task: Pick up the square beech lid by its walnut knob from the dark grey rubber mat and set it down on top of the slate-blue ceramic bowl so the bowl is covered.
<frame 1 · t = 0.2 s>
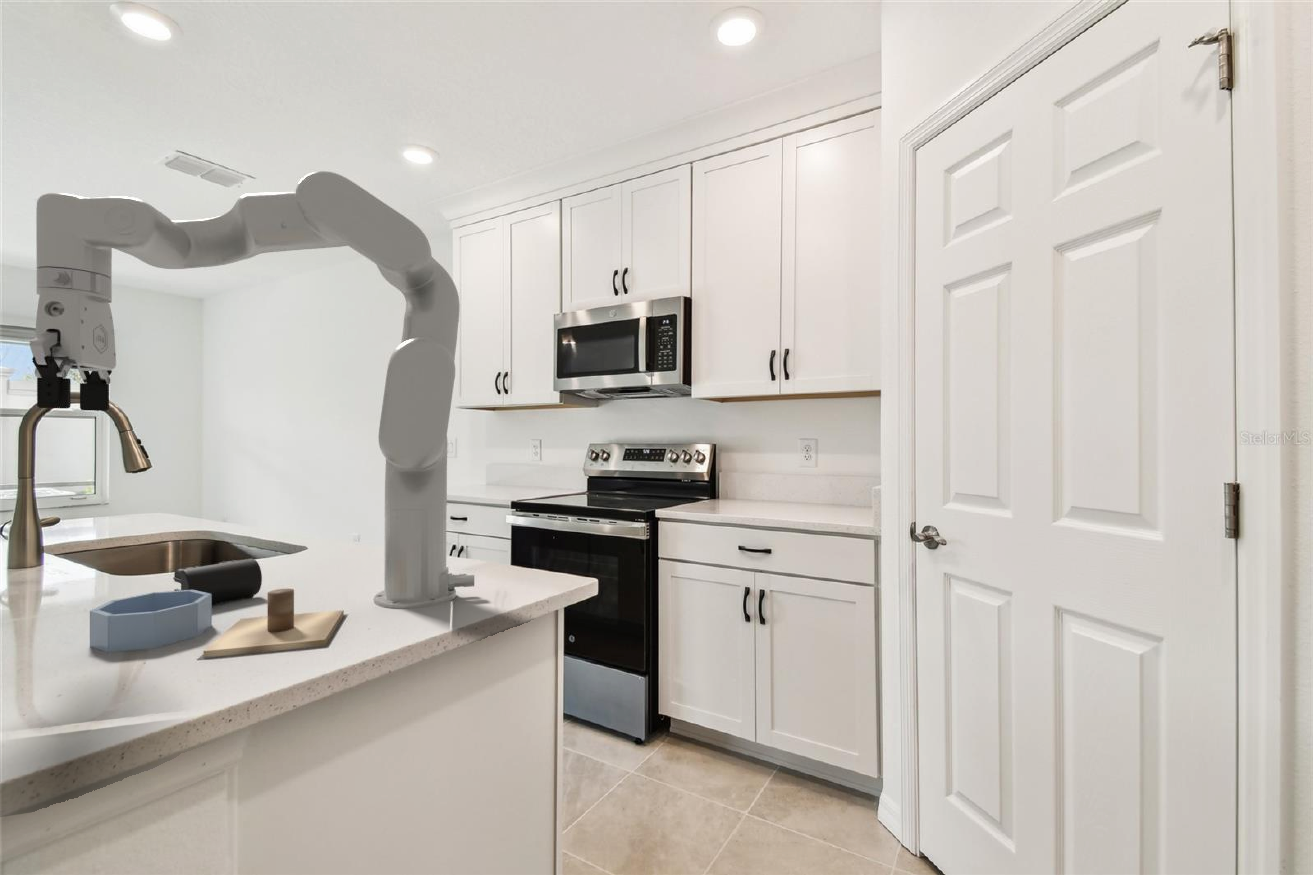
hand: (75, 409, 83), 31 cm above the counter, tool pointing down, fingers open, 9 cm apart
bowl: (153, 639, 79), on the counter
end cap: (217, 606, 95), on the counter
lid: (280, 634, 79), point 1 cm above the counter, touching mat
mat: (280, 638, 79), on the counter
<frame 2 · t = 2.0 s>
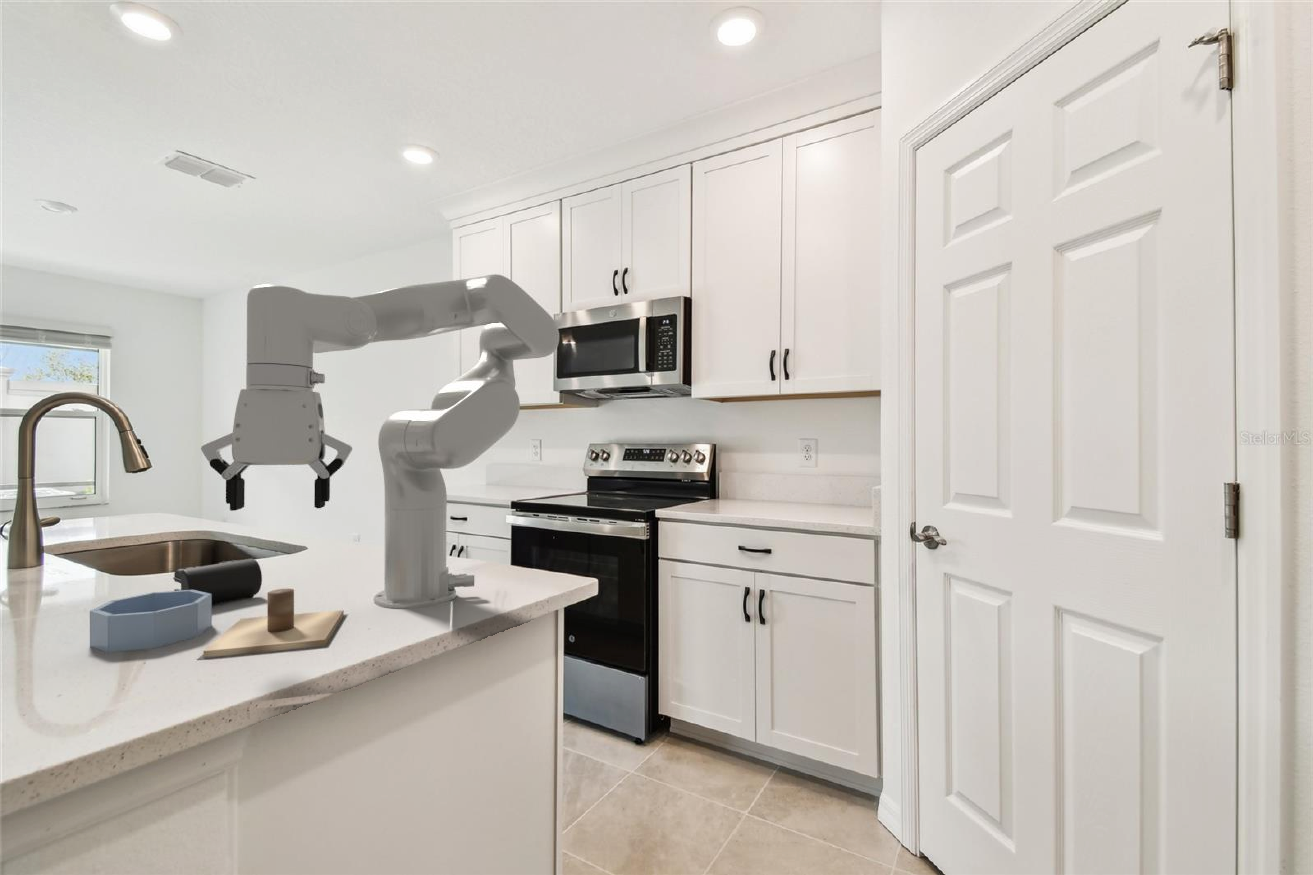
hand: (279, 508, 79), 18 cm above the counter, tool pointing down, fingers open, 9 cm apart
nothing on the counter moved.
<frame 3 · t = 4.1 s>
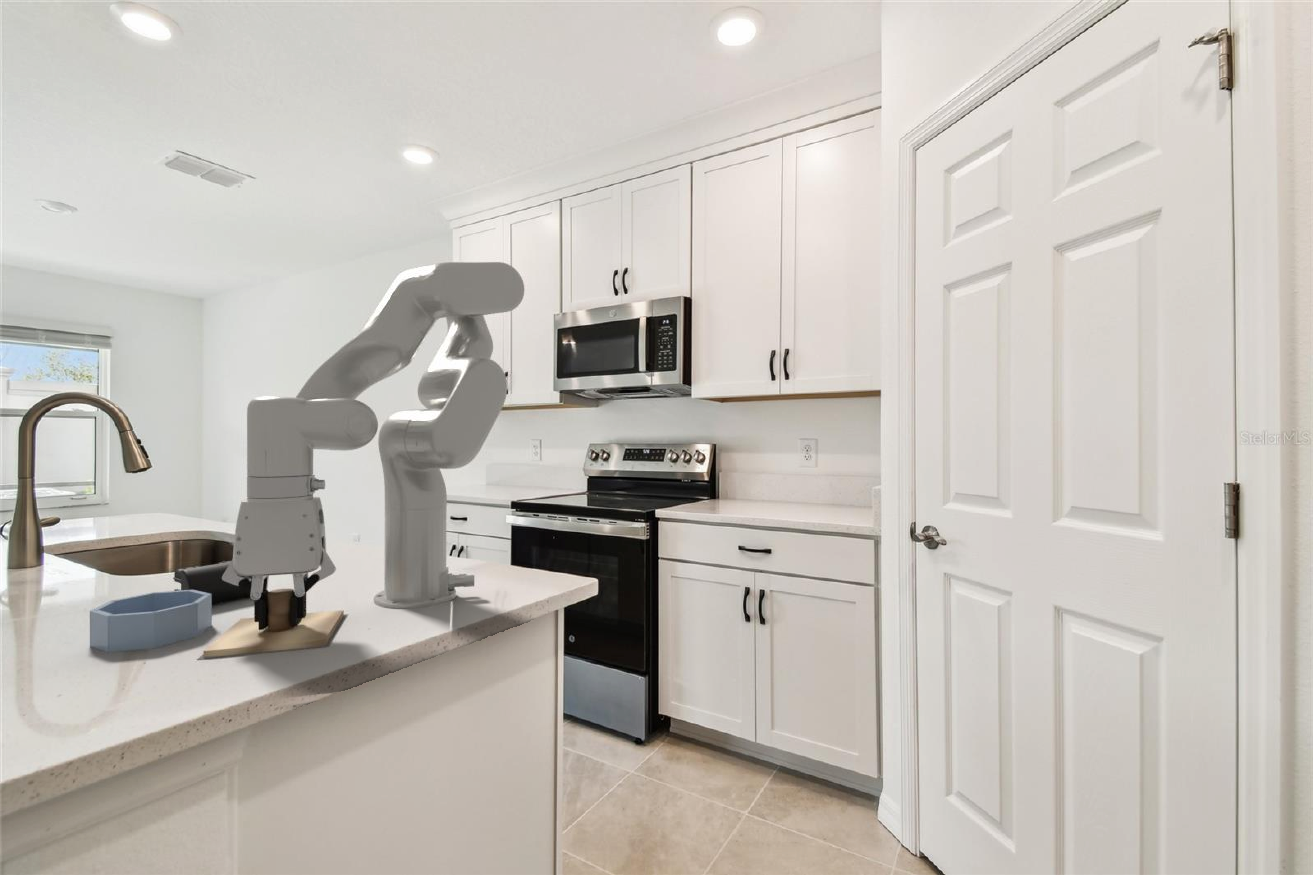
hand: (280, 624, 79), 2 cm above the counter, tool pointing down, fingers closed on lid, 3 cm apart
lid: (280, 634, 79), point 1 cm above the counter, touching gripper, mat
everything else where it was.
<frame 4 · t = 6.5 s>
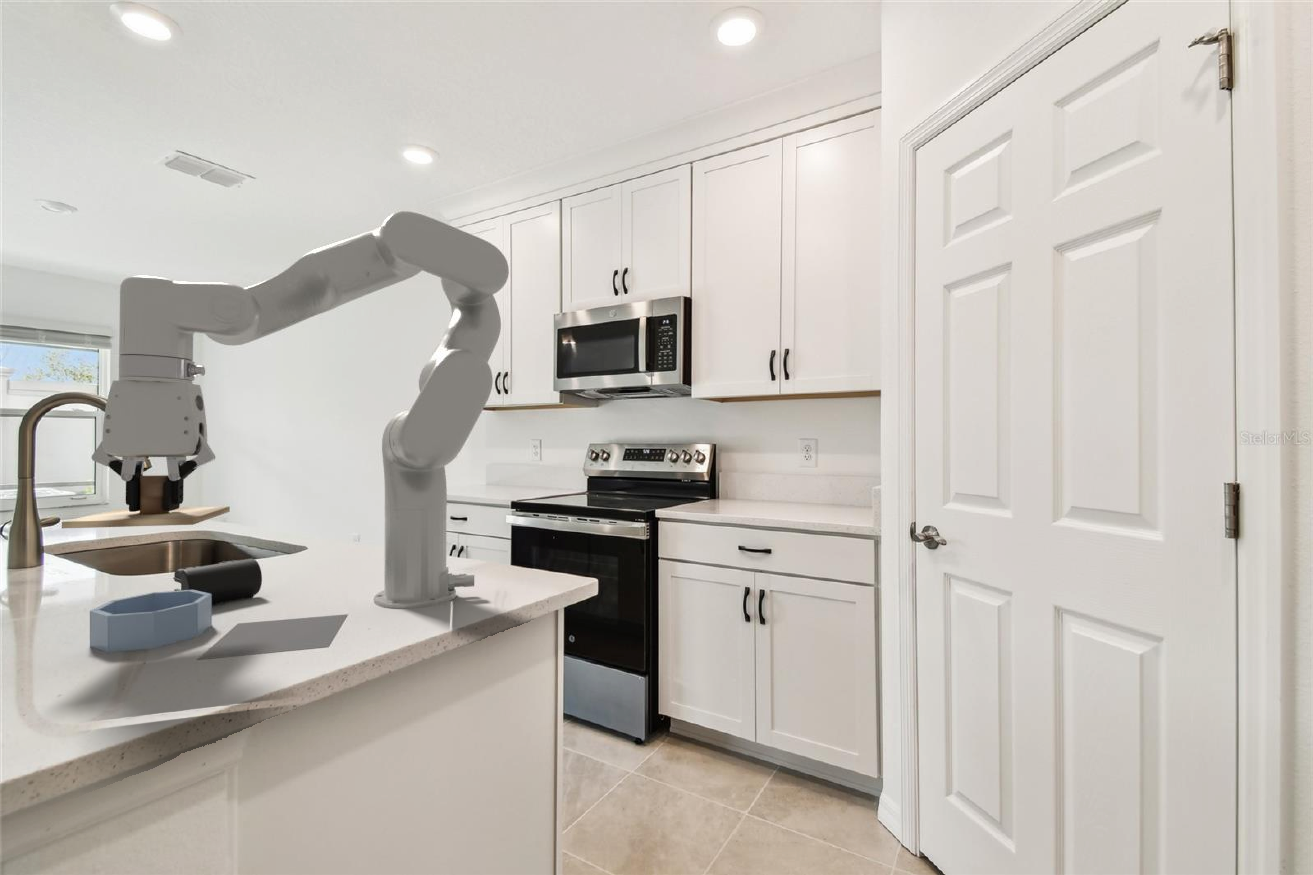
hand: (154, 508, 78), 18 cm above the counter, tool pointing down, fingers closed on lid, 3 cm apart
lid: (154, 519, 78), point 16 cm above the counter, touching gripper
everything else where it was.
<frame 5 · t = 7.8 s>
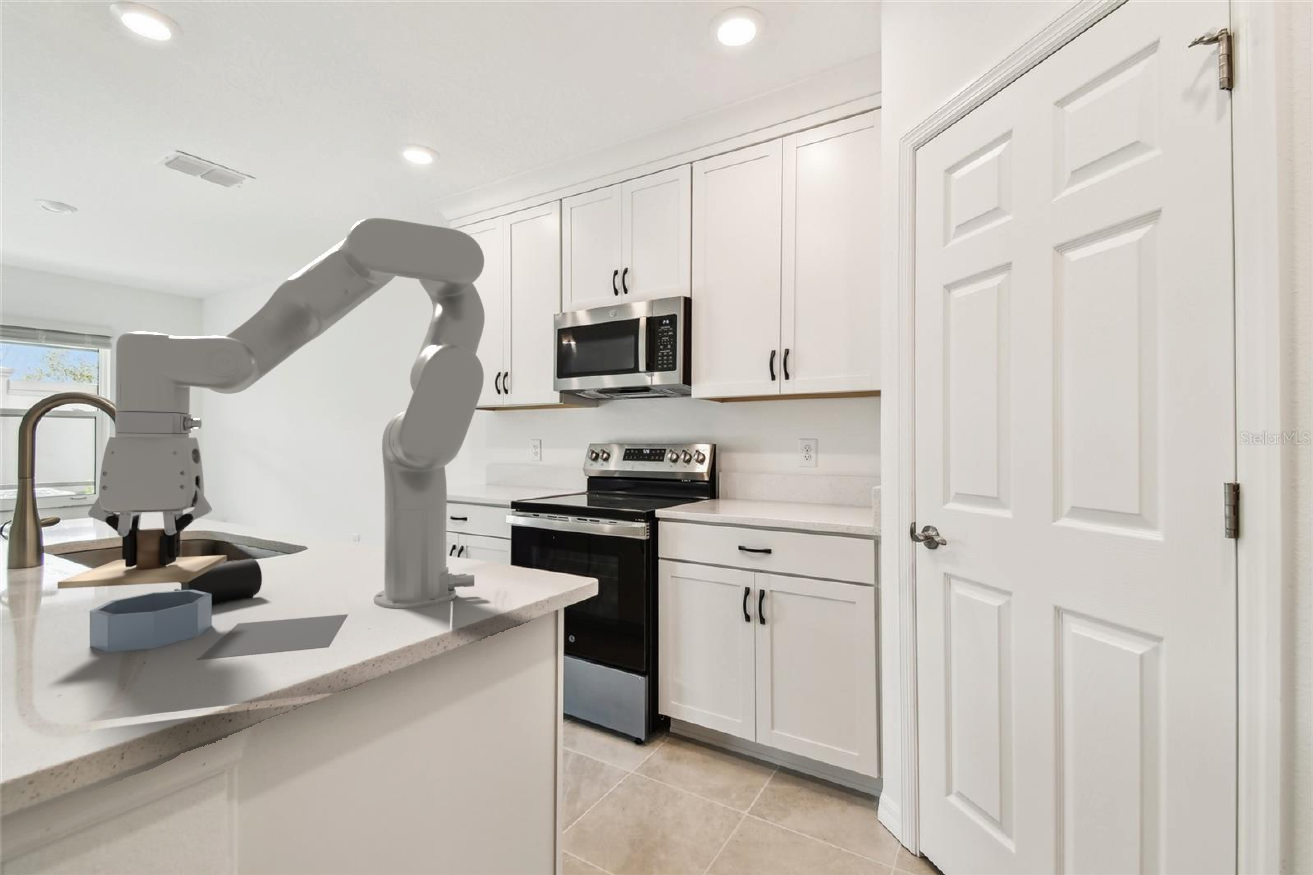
hand: (151, 562, 78), 10 cm above the counter, tool pointing down, fingers closed on lid, 3 cm apart
lid: (151, 573, 78), point 9 cm above the counter, touching gripper
everything else where it was.
when the fingers open (8 cm above the counter, at t = 8.9 s): lid drops 1 cm, resting on bowl.
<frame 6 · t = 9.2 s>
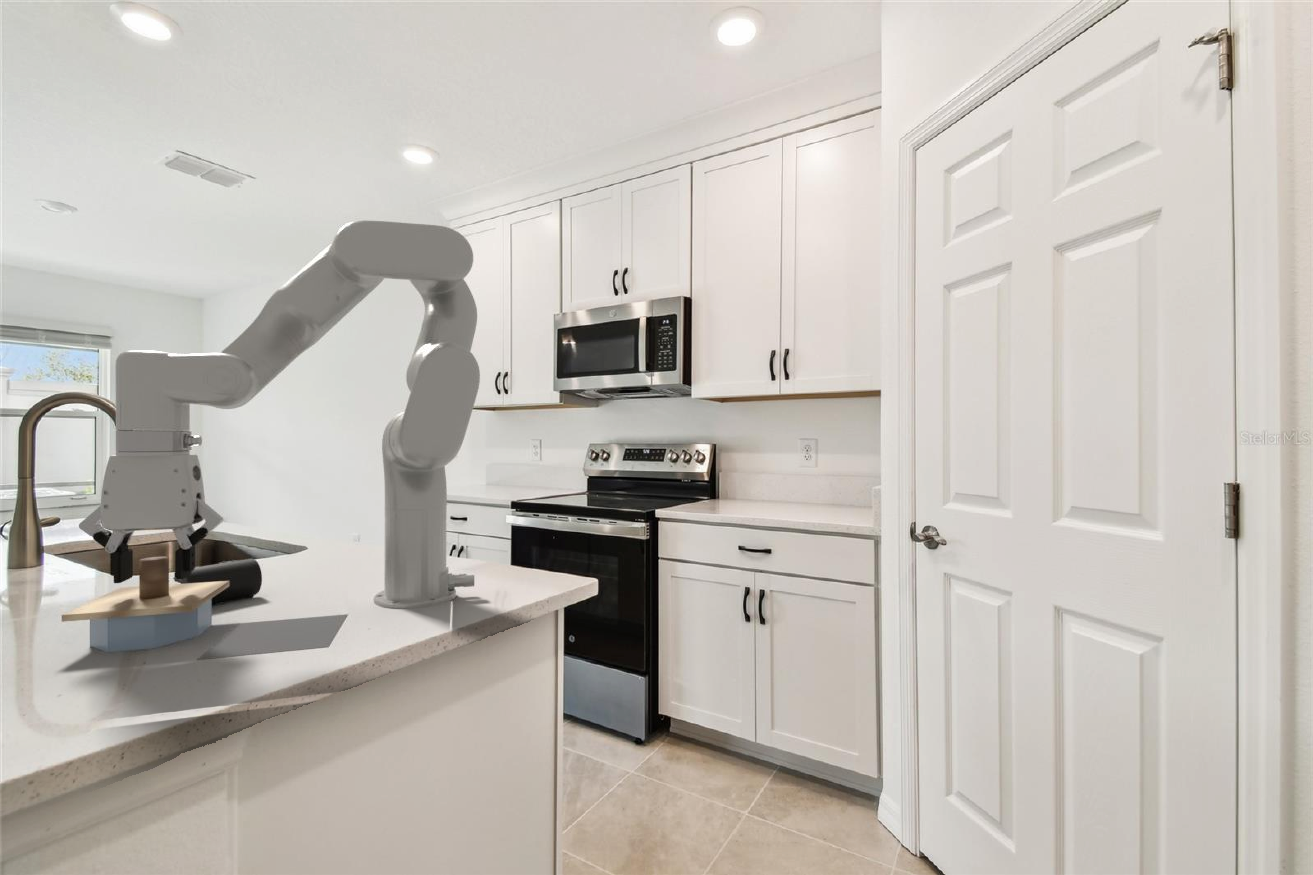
hand: (153, 577, 79), 8 cm above the counter, tool pointing down, fingers open, 6 cm apart
lid: (154, 602, 79), point 5 cm above the counter, touching bowl
everything else where it was.
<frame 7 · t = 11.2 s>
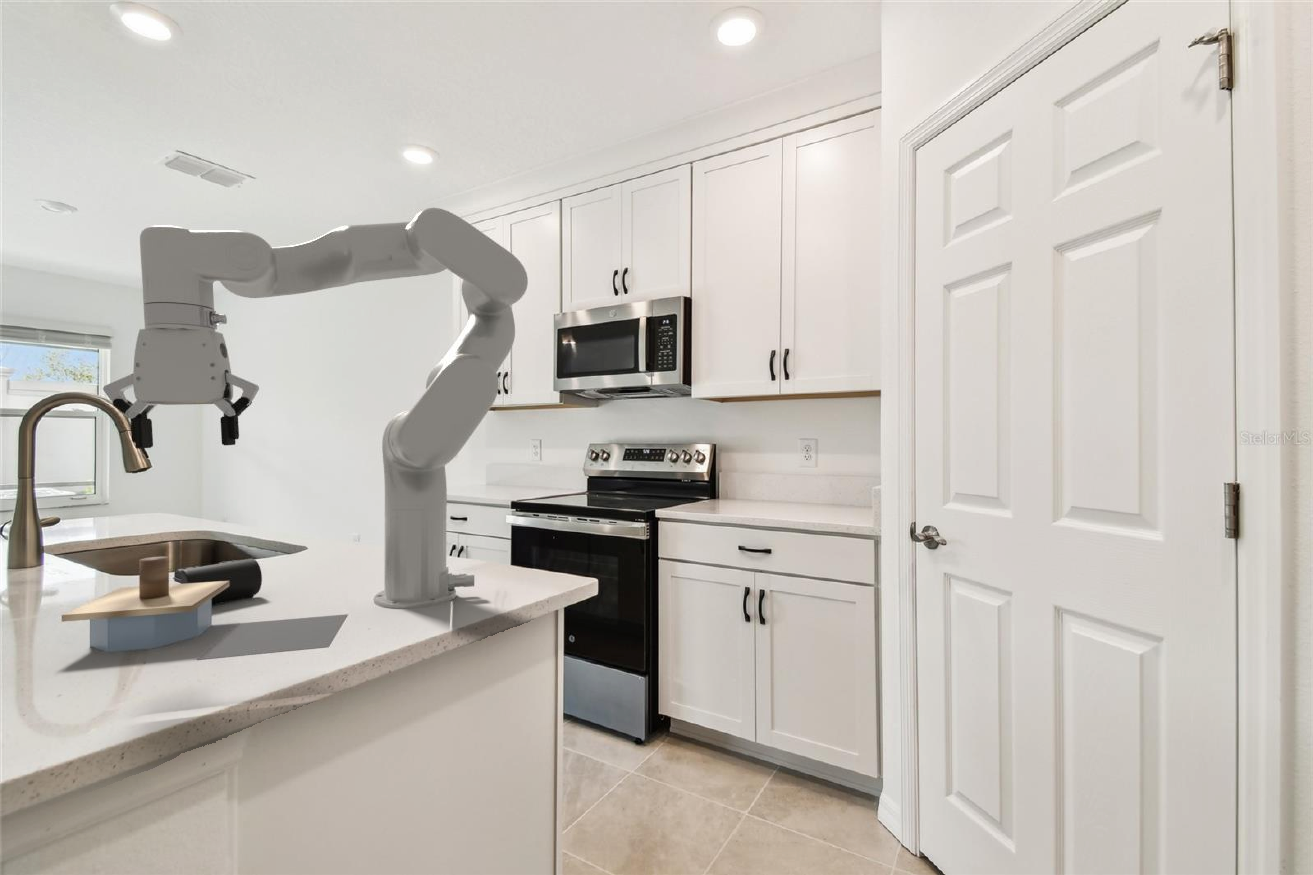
hand: (187, 446, 81), 26 cm above the counter, tool pointing down, fingers open, 9 cm apart
nothing on the counter moved.
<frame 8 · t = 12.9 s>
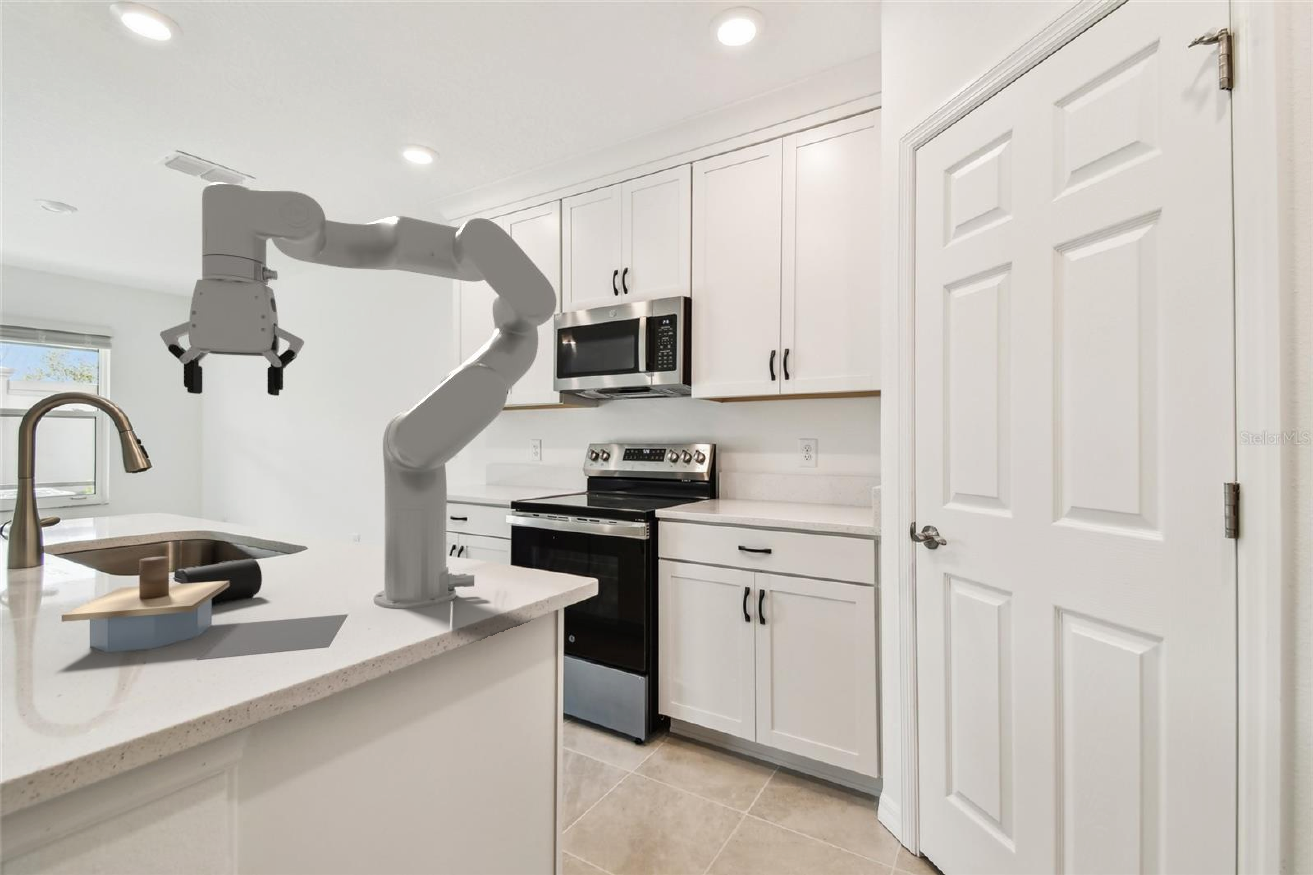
hand: (234, 394, 85), 33 cm above the counter, tool pointing down, fingers open, 9 cm apart
nothing on the counter moved.
at the end: lid 0.1 cm off-centre on the bowl, point 5.0 cm above the bowl's base; lid tilted 0°; the gripper is holding nothing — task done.
